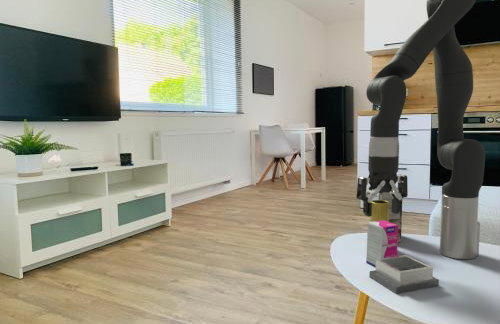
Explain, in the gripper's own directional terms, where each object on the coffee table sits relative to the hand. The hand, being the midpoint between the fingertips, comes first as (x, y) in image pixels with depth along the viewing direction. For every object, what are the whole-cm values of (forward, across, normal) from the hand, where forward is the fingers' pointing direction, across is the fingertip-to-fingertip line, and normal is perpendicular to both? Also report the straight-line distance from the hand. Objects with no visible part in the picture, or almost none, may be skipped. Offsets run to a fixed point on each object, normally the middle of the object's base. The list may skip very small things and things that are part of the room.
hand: (381, 214), depth 104 cm
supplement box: (+14, 0, 0) cm, 14 cm away
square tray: (+14, +2, +11) cm, 18 cm away
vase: (+14, -8, -12) cm, 20 cm away
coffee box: (+14, -17, -19) cm, 29 cm away
